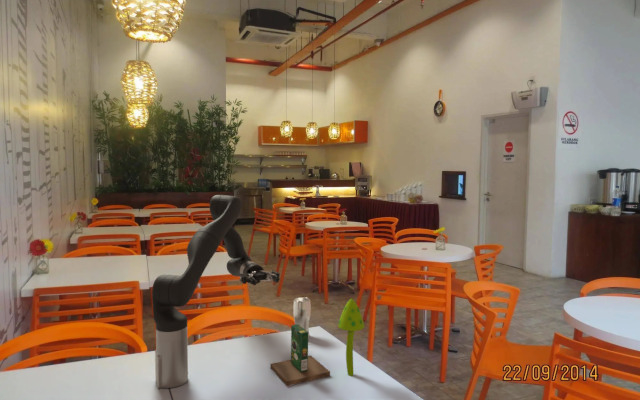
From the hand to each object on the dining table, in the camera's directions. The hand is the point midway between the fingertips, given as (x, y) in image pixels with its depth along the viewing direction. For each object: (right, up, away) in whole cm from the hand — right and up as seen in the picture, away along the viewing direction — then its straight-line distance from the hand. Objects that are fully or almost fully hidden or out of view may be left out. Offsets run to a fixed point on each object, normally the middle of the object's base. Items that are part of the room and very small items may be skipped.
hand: (266, 281), depth 156 cm
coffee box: (+13, -26, -14) cm, 32 cm away
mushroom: (+29, -27, -16) cm, 43 cm away
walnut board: (+13, -27, -14) cm, 33 cm away
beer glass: (+12, -25, +17) cm, 33 cm away
